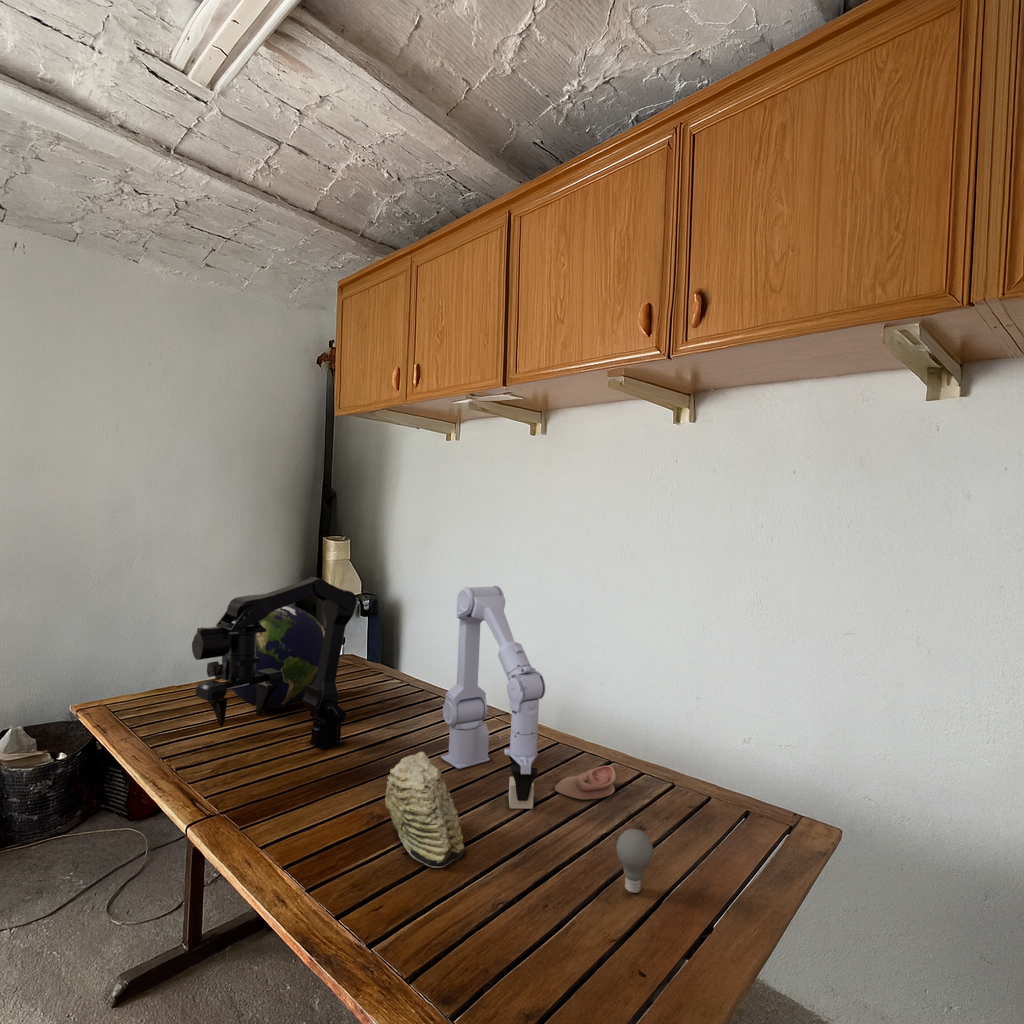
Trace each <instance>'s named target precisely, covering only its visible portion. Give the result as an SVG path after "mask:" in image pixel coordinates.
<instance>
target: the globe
mask: <svg viewBox="0 0 1024 1024" xmlns="http://www.w3.org/2000/svg"><path fill="white" fill-rule="evenodd" d="M259 622H260V624H261V625H262V626H263V627H264V628H265V629H266V632H260V633H257V643H256V657H258V658H259V662H257V663H256V670H255V674H256V672H257V671H258V670H263V669H267V668H272V669H275V670H278V671H281V672H282V673H283V675H284V683H283V684H279V687H278V688H276V689H275V691H274V692H273V694H272V695H271V697H270V699H269V700H268V702H267V704H266V706H265V708H264V709H282V708H285V707H289V706H293V705H295V704H298V703H299V702H301V701H303V698H304V695H305V687H306V685H312V683H313V682H314V681H315V679H316V676H317V671H318V665H319V660H320V655H321V650H322V644H323V639H324V634H325V629H324V627H323V626H322V624H321V623H320V621H318V619H317V618H315V616H314V615H312V614H311V613H310V612H308V611H305V610H304V609H302V608H299V607H297V606H292V605H288V606H285V607H282V608H279V609H277V610H275V611H273V612H271V613H270V614H269V615H268V616H267V617H266V618H264V619H262V620H261V621H259ZM226 657H229V653H227V654H226V655H225V656H221V664H224V663H225V659H226ZM225 682H228V680H225ZM234 685H237V684H234ZM231 691H232V692H233V693H234V694H235V695H236V696H237V697H238V698H239V699H240V700H242V701H244V702H245V703H247V704H248V705H251V706H254V707H256V698H257V690H256V688H255V685H250V686H246V687H242V688H237V689H233V690H231Z"/></svg>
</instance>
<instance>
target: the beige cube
mask: <svg viewBox="0 0 1024 1024" xmlns="http://www.w3.org/2000/svg"><path fill="white" fill-rule="evenodd" d="M508 780H509V784H508V805H509V806H508V807H509V809H519V810H520V809H523V810H524V809H526V810H527V809H529V810H530V809H531V810H532V809H534V795H535V793H534V791H535V784H534V782H533V783H532V786H531V790H530V794H529V798H528V800H527V801H518V799H517V794H516V785H515V780H514V777H513V776H509V779H508Z"/></svg>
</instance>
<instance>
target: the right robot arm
mask: <svg viewBox="0 0 1024 1024" xmlns="http://www.w3.org/2000/svg"><path fill="white" fill-rule="evenodd" d="M456 595H457V596H456V618H457V619H459V622H458V623H459V624H458V645H457V667H456V668H457V671H456V684H455V685H454V686H453V687H451V688H450V689H449V690H448V691H446V693H445V699H444V703H443V706H442V716H443V720H444V721H445V723H446V724H447V726H448V727H449V735H448V736H449V737H448V753H447V754H444V755H441V756H440V759H442V760H443V761H445V762H446V763H448V764H449V765H451V766H452V767H454V768H456V769H457V770H462V769H466V768H469V767H473V766H475V765H478V764H483V763H486V762H490V761H491V758H490V757H489V744H490V731H489V728H488V725H487V723H485V722H484V720H485V719H486V717H487V715H488V703H487V697H486V696H487V695H486V694H487V693H486V692H485V690H484V689H483V688H482V687H480V686H479V669H480V667H479V665H480V664H479V663H480V646H481V645H480V641H481V623H482V622H483V621H484V622H486V625H487V626H488V628H489V630H490V632H491V634H492V635H493V638H494V639H495V641H496V643H497V645H498V646H499V650H498V651H497V657H498V659H499V661H500V664H501V666H502V668H503V671H504V673H505V676H506V678H507V680H508V683H507V684H506V693H507V695H508V699H509V701H508V702H509V703H508V704H509V708H510V709H511V717H510V718H511V719H510V736H509V737H510V739H509V748H504V749H503V753H504V755H505V756H508V758H509V761H510V764H511V765H510V772H511V775H512V777H514V780H515V785H516V794H517V799H518V801H527V800H528V798H529V794H530V790H531V786H532V783H533V784H534V780H535V778H536V777H537V776H538V774H539V769H538V767H532V765H533V763H534V762H535V760H536V759H537V757H538V735H539V734H538V731H539V730H538V729H539V709H540V700H542V699H543V698H544V696H545V693H546V682H545V679H544V677H543V675H542V673H541V672H539V671H538V670H537V669H536V668H535V667H532V665H531V663H530V660H529V658H528V656H527V654H526V651H525V649H524V647H523V644H521V643H519V642H517V641H515V639H514V635H513V633H512V631H511V627H510V625H509V622H508V619H507V616H506V613H505V608H506V597H505V595H504V591H503V589H502V588H501V587H500V586H499V585H492V586H473V587H468V586H463V587H462V588H461V589H460V590H459V592H458V593H456Z"/></svg>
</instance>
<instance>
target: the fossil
mask: <svg viewBox="0 0 1024 1024" xmlns="http://www.w3.org/2000/svg"><path fill="white" fill-rule="evenodd" d="M389 773H390V774H389V775H388V776H387V780H388V781H387V782H386V789H385V798H384V800H385V802H384V804H385V807H386V810H387V811H388V812H389V814H390V815H389V816H390V818H391V822H392V825H393V827H394V828H395V830H396V831H397V833H398V834H397V835H398V838H399V839H400V842H402V845H403V847H404V848H405V850H406V851H407V853H408V854H409V855H410V856H411V857H412V858H413V859H415V860H416V861H418V862H420V863H422V864H423V865H424V866H428V867H430V868H433V869H440V868H441V869H442V868H444V867H447V866H448V865H450V864H451V863H452V862H453V861H457V860H459V859H461V857H462V856H463V854H464V853H465V852H466V848H465V844H464V835H463V833H462V826H461V820H460V817H459V812H458V809H457V808H456V806H455V803H454V799H453V798H452V795H451V792H450V791H449V789H448V787H447V783H446V781H445V778H444V775H443V773H442V770H441V769H440V768H437V767H436V766H435V764H434V763H433V762H432V760H431V759H430V758H429V757H428V756H427V754H426V753H425V752H424V751H419V752H417V753H416V754H410V755H408V756H405V757H403V758H401V759H400V761H399V762H398V763H397V764H396V765H395V766H394V768H390V771H389Z"/></svg>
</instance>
